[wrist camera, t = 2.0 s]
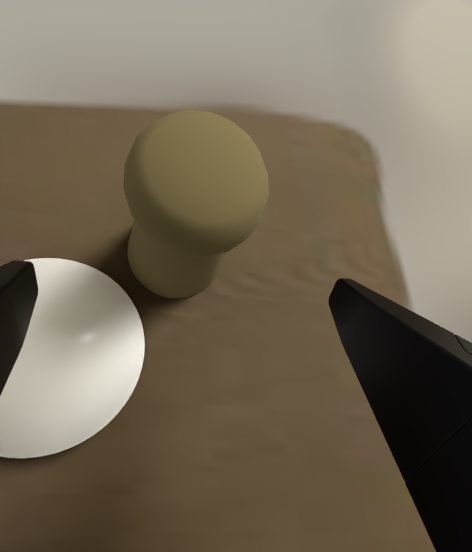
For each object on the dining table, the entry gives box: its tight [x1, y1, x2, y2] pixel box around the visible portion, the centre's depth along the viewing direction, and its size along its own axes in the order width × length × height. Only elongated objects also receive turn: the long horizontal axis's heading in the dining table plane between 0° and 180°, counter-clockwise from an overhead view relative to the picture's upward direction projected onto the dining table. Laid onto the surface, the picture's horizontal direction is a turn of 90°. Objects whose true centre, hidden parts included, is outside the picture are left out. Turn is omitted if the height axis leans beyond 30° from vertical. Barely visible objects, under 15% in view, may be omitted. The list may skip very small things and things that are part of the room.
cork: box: [124, 110, 269, 298], centre depth 15 cm, size 6×6×11 cm
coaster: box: [0, 258, 145, 458], centre depth 17 cm, size 10×10×1 cm
